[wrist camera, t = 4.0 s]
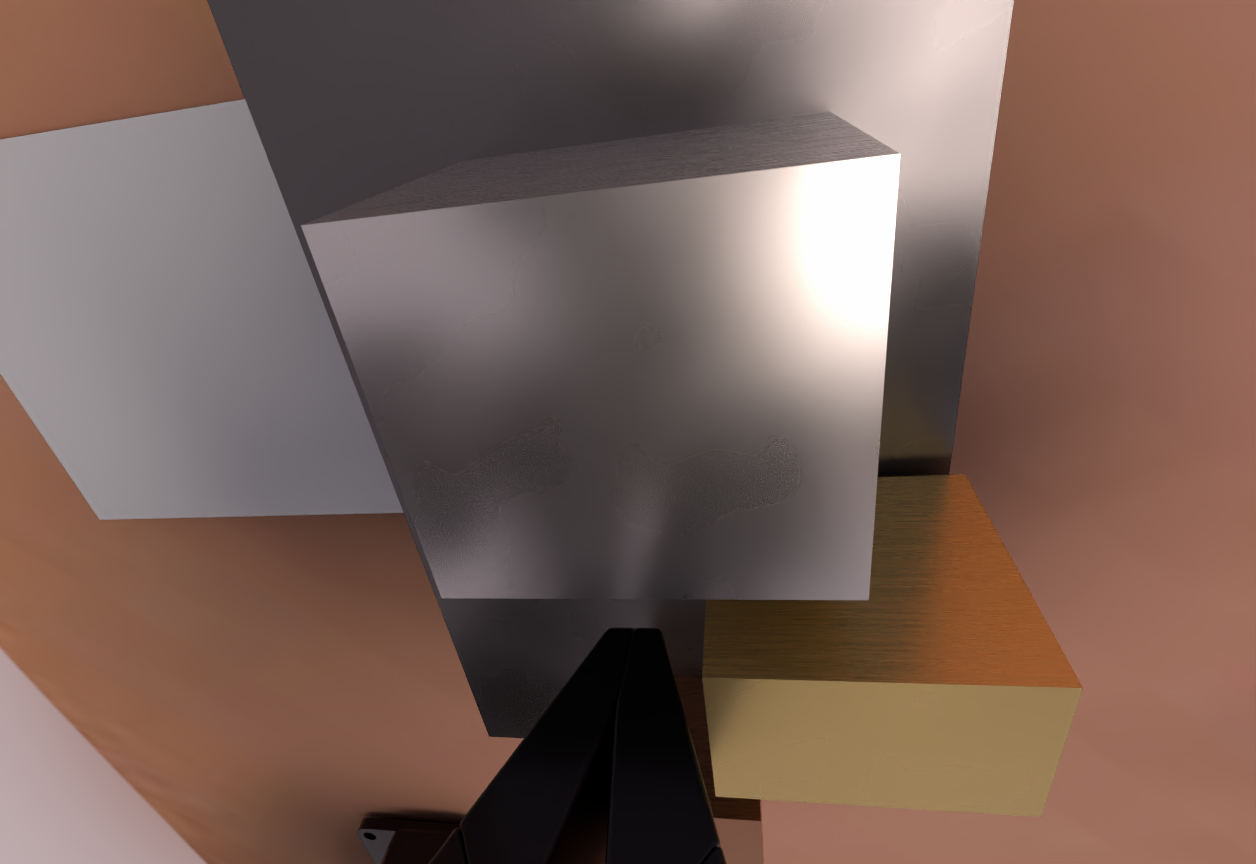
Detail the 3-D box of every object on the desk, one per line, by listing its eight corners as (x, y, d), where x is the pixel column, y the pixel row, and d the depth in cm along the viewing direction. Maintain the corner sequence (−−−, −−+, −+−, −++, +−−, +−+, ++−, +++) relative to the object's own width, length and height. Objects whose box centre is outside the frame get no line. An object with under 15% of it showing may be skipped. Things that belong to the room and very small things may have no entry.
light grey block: (823, 419, 10) (868, 600, 7) (530, 433, 11) (441, 598, 8) (829, 111, 8) (900, 154, 5) (463, 160, 9) (301, 225, 6)
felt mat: (411, 502, 16) (404, 513, 15) (112, 510, 18) (99, 519, 17) (261, 97, 11) (247, 98, 11) (-121, 160, 13) (-143, 163, 13)
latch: (947, 586, 11) (1040, 816, 8) (720, 586, 12) (715, 796, 9) (965, 474, 10) (1082, 687, 7) (712, 481, 11) (701, 677, 7)
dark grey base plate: (887, 665, 16) (948, 910, 12) (517, 656, 18) (443, 865, 14) (987, -374, 8) (1406, -1080, 3) (251, -183, 9) (-225, -416, 5)
